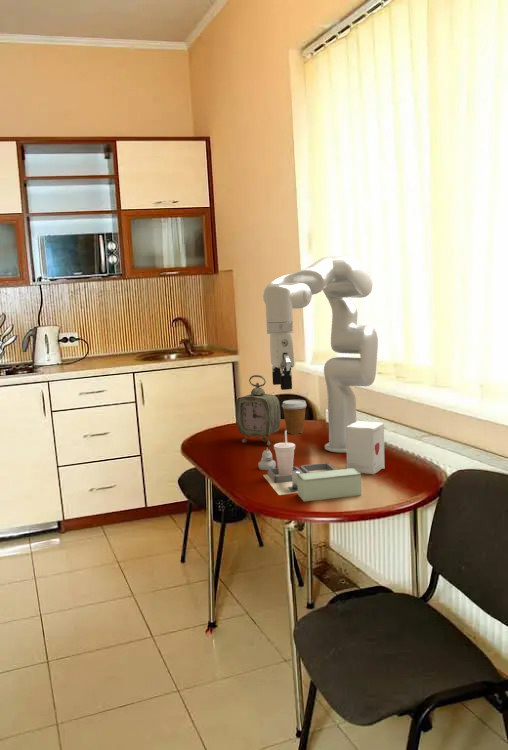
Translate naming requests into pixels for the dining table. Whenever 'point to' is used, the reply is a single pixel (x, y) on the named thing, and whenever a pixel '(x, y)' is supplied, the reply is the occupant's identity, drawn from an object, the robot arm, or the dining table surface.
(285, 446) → the smoothie
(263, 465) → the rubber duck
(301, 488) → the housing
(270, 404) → the tabletop clock
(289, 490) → the board
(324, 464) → the socket
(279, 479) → the socket
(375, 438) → the supplement box
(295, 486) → the pin
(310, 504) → the dining table surface
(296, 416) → the disposable coffee cup
